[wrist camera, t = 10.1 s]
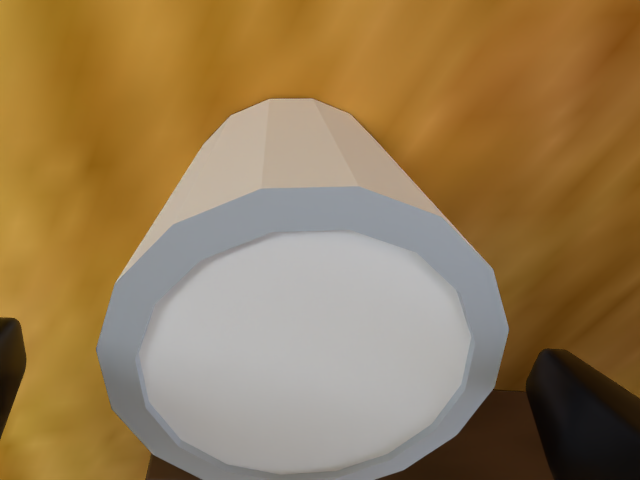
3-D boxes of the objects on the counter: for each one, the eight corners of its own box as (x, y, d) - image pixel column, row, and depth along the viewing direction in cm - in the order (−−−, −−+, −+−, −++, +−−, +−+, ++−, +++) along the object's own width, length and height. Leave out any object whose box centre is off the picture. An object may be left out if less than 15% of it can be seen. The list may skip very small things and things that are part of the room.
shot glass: (375, 306, 17) (436, 509, 11) (160, 280, 16) (93, 493, 10) (444, 99, 14) (583, 226, 8) (177, 46, 12) (93, 146, 6)
